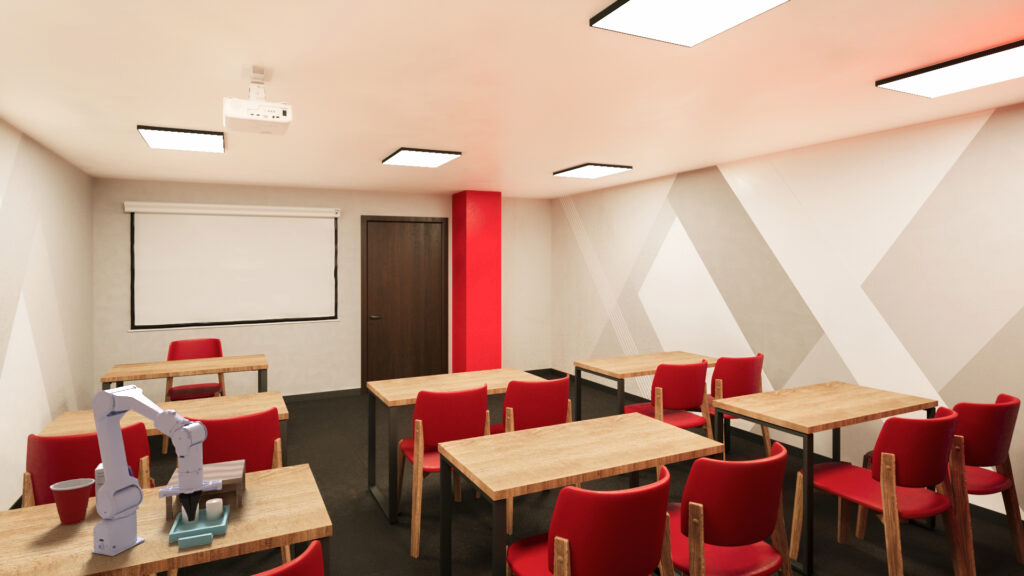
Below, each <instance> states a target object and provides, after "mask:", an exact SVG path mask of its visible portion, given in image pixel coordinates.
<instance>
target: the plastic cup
mask: <svg viewBox="0 0 1024 576" xmlns="http://www.w3.org/2000/svg"><path fill="white" fill-rule="evenodd" d="M94 484H95V478H77V479H76V478H75V479H69V480H65V481H59V482H56V483H53V484H52V485H50V486H49V488H50V490H51V491H52V496H53V498H54V502H55V507H56V509H57V514H58V518H59V521H60V522H59V523H61V525H62V526H71V525H75V524H79V523H81V522H83V521H85V519H86V516H87V509H88V506H89V501H90V495H91V490H92V487H93V485H94Z"/></svg>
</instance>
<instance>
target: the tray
mask: <svg viewBox="0 0 1024 576" xmlns="http://www.w3.org/2000/svg"><path fill="white" fill-rule="evenodd" d="M199 503H200V502H199ZM199 503H198V506H197V510H196V515H195V520H194V521H188V517H187V514H186V511H185V509H184V507H183V506H182V505H181V512H178V513H177V515H176V517H175V520H174V522H173V525H172V527H171V529H170V531H169V534H168V544H171V543H170V542H174V543H176V542H175V541H178V542H177V543H178V547H177V548H178V549H179V548H182V549H186V548H185V547H187V548H192V546H193V547H197V546H198V547H199V546H202V545H209V544H212V543H213V539H214V537H215V536H219V535H225V534H226V531H227V527H228V523H229V517H230V513H231V511H230V504H228V505H227V504H225V505H223V499H222V498H219V497H217V498H212V499H208V500H206V502H205V507H206V508H200V509H199V507H200V505H199Z"/></svg>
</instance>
